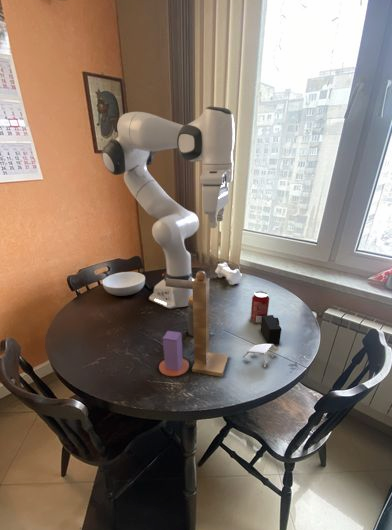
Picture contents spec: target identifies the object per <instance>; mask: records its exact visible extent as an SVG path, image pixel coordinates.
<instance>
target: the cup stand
mask: <svg viewBox="0 0 392 530" xmlns="http://www.w3.org/2000/svg"><path fill="white" fill-rule="evenodd" d="M193 279H194V281H189V280H178V279H168V278H167V279H166V283H165V284H166V287H175V288H185V289H193V324H194V336H193V354H194V355H193V356H194V362H193V365H192V366H191V367H192V368H191V372H192V373H196V374H203V375H210V376H216V377H221V378H223V376H224V372H225V371H226V370H225V369H226V366H227V363H228V360H229V354H223V353H217V352H210V277H207V274H206V272H205V271H203V270H199V271H197V272H196V273H195V278H193Z"/></svg>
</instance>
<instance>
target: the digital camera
mask: <svg viewBox="0 0 392 530" xmlns="http://www.w3.org/2000/svg"><path fill="white" fill-rule="evenodd" d="M260 333H261V335H262V337H263V339H264V341H265V344H274V346H277V345H278V346H279V345H280V342H281V336H282V327H281V325H280V319H279V317H275V316H274V314H267V315H265V316H262V320H261V323H260Z"/></svg>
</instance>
